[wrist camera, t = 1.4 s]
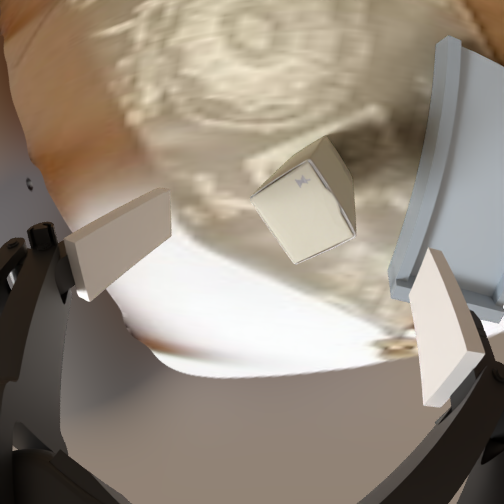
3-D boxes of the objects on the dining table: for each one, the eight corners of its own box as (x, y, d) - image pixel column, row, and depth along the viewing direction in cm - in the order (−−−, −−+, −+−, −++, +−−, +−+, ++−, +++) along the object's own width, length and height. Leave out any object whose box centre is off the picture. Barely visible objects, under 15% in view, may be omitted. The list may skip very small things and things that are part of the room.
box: (289, 157, 27) (241, 194, 16) (327, 133, 24) (307, 152, 14) (318, 202, 28) (292, 269, 17) (357, 181, 25) (359, 238, 15)
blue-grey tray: (435, 44, 16) (451, 32, 12) (544, 100, 13) (570, 103, 9) (387, 270, 28) (391, 298, 24) (486, 296, 25) (498, 323, 21)
